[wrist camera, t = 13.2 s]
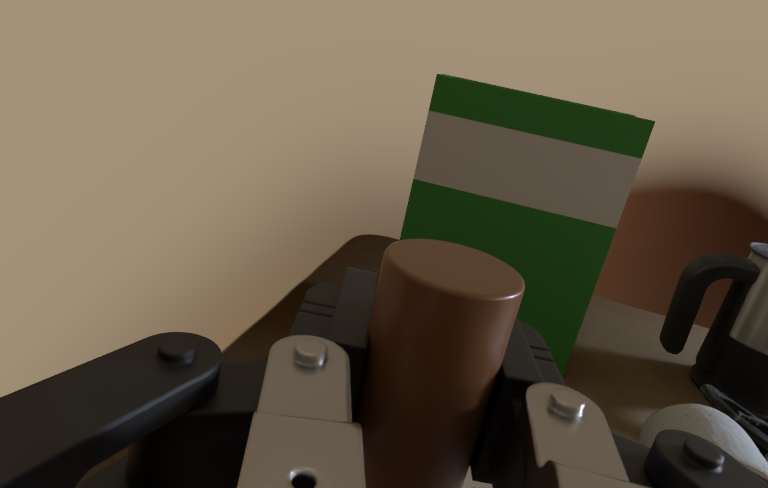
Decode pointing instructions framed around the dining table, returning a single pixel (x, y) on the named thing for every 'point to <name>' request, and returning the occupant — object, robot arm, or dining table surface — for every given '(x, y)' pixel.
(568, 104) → the hardback book
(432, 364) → the bowl lid
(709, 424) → the ceramic mug
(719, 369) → the milk frother
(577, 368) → the dining table surface
